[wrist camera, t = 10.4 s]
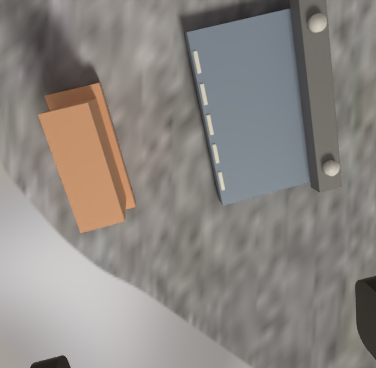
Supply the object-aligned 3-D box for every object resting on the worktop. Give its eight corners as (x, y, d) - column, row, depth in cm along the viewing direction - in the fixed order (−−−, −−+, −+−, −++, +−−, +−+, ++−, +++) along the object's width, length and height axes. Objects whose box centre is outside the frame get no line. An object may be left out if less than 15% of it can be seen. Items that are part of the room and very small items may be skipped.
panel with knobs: (183, 27, 26) (189, 20, 23) (307, -2, 27) (329, -12, 24) (220, 205, 31) (230, 220, 28) (325, 177, 32) (346, 188, 29)
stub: (48, 95, 26) (23, 99, 20) (100, 82, 26) (90, 83, 20) (89, 214, 29) (78, 248, 23) (135, 201, 29) (136, 232, 24)
